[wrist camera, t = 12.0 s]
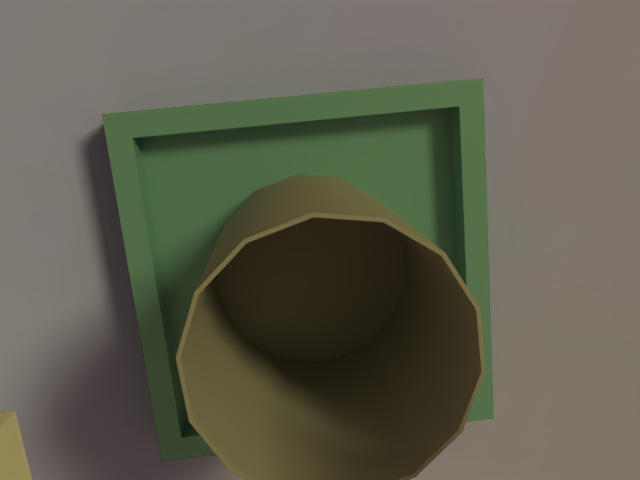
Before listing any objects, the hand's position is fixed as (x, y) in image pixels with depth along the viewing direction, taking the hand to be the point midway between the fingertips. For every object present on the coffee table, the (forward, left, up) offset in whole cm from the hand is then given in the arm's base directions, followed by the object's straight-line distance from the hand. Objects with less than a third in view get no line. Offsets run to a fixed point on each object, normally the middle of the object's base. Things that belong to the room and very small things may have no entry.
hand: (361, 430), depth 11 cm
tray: (+1, 0, -15) cm, 15 cm away
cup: (+1, 0, -14) cm, 14 cm away
